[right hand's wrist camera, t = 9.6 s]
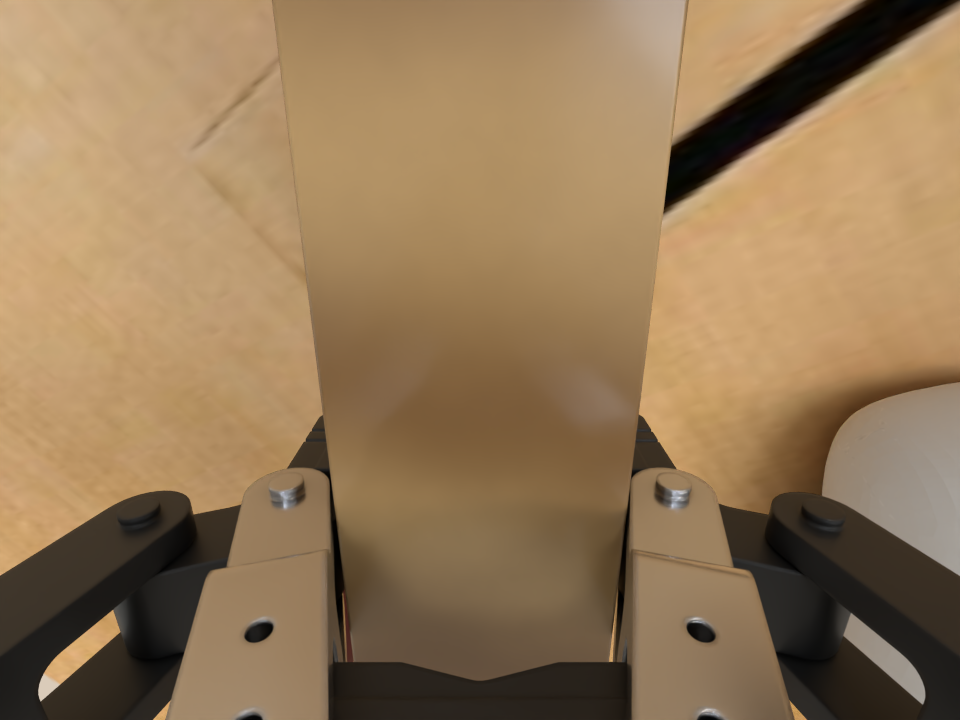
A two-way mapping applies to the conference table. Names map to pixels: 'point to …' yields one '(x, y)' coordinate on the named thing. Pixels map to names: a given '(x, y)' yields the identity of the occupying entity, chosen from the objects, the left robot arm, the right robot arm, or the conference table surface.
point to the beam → (480, 306)
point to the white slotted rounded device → (902, 490)
